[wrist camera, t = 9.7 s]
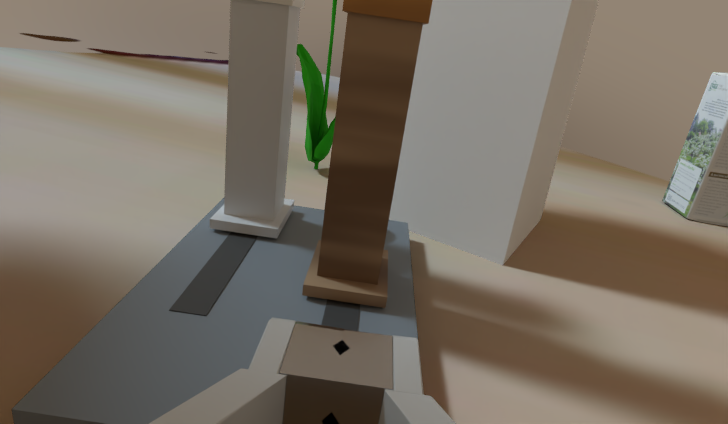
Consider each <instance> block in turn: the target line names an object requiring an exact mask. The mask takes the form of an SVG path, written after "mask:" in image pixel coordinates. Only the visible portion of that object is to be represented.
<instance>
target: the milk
mask: <svg viewBox="0 0 728 424" xmlns="http://www.w3.org/2000/svg"><path fill="white" fill-rule="evenodd" d="M597 6H598V0H433V1H432V7H431V12H430V18H429V23H428V24H424V25H423V26H422V32H421V38H420V44H419V49H418V55H417V61H416V67H415V72H414V78H413V84H412V89H411V95H410V101H409V107H408V112H407V118H406V124H405V130H404V135H403V141H402V147H401V153H400V158H399V164H398V170H397V176H396V181H395V187H394V193H393V199H392V204H391V210H390V216H389V220H393V221H400V222H406V223H408V231H411V232H414V233H416V234H419V235H422V236H424V237H427V238H430V239H433V240H435V241H438V242H441V243H443V244H446V245H449V246H452V247H454V248H457V249H460V250H462V251H465V252H468V253H471V254H473V255H476V256H479V257H482V258H484V259H487V260H490V261H492V262H495V263H498V264H501V265H504V263H505V262H506V261H507V260H508V258H509V257H510V256H511V255H512V254H513V252H514V251H515V250H516V249H517V248H518V246H519V245H520V244H521V243H522V242H523V240H524V239H525V238H526V237H527V236H528V234H529V233H530V232H531V231H532V230H533V228H534V227H535V226H536V225H537V224H538V222H539V221H540V220H541V217H542V213H543V209H544V206H545V202H546V198H547V194H548V191H549V187H550V183H551V179H552V176H553V172H554V168H555V164H556V161H557V157H558V153H559V149H560V145H561V141H562V138H563V134H564V130H565V127H566V123H567V119H568V115H569V111H570V108H571V104H572V100H573V96H574V92H575V89H576V85H577V81H578V77H579V74H580V70H581V66H582V63H583V59H584V55H585V51H586V47H587V44H588V40H589V36H590V33H591V28H592V25H593V21H594V17H595V13H596V10H597Z"/></svg>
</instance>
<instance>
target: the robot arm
mask: <svg viewBox="0 0 728 424" xmlns="http://www.w3.org/2000/svg"><path fill="white" fill-rule="evenodd" d="M149 424H456V423H455V422H454V421H453V420H452V419H451V417H450V416H449V415H448V414H447V413H446V412H445V411H444V410H443V409H442V407H441V406H440V405H439V404H438V403H437V402H436V401H435V400H434V399H433V397H432V396H428V395H424V393H423V382H422V372H421V362H420V352H419V342H418V340H417V338H413V337H404V336H395V335H392V336H390V335H382V334H375V333H367V332H360V331H352V330H345V329H342V328H336V327H330V326H324V325H318V324H312V323H306V322H300V321H297V322H296V321H294V320H287V319H280V318H273V317H272V318H271V319H270V320H269V321H268V324H267V326H266V328H265V331H264V333H263V336H262V338H261V340H260V343H259V345H258V347H257V350H256V352H255V354H254V357H253V359H252V362H251V364H250V366H249V369H239V370H237V371H236V372H234V373H232V374H231V375H229V376H227V377H226V378H224V379H222V380H221V381H219V382H217V383H216V384H214V385H212V386H211V387H209V388H207V389H206V390H204V391H202V392H201V393H199V394H197V395H196V396H194V397H192V398H191V399H189V400H187V401H186V402H184V403H182V404H181V405H179V406H177V407H176V408H174V409H172V410H171V411H169V412H167V413H166V414H164V415H162V416H161V417H159V418H157V419H156V420H154V421H152V422H151V423H149Z"/></svg>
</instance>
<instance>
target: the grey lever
mask: <svg viewBox="0 0 728 424" xmlns="http://www.w3.org/2000/svg"><path fill="white" fill-rule="evenodd" d="M304 6H305V0H231V7H230V8H231V9H230V39H229V40H230V41H229V71H228V102H227V134H226V166H225V198H224V205H223V206H222V207H221V208H220V209H219V210H218V211H217V212H216V213H215V214H214V215H213V216H212V217H211V218H210V228H211V229H217V230H224V231H231V232H237V233H244V234H250V235H257V236H264V237H270V238H278V236H279V234H280V232H281V230H282V228H283V227H284V225H285V223H286V221H287V219H288V218H289V216H290V214H291V212H292V210H293V209H294V200H290V199H284V198H285V186H286V174H287V161H288V149H289V137H290V125H291V113H292V101H293V89H294V77H295V64H296V52H297V40H298V28H299V16H300V8H302V9H304Z"/></svg>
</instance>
